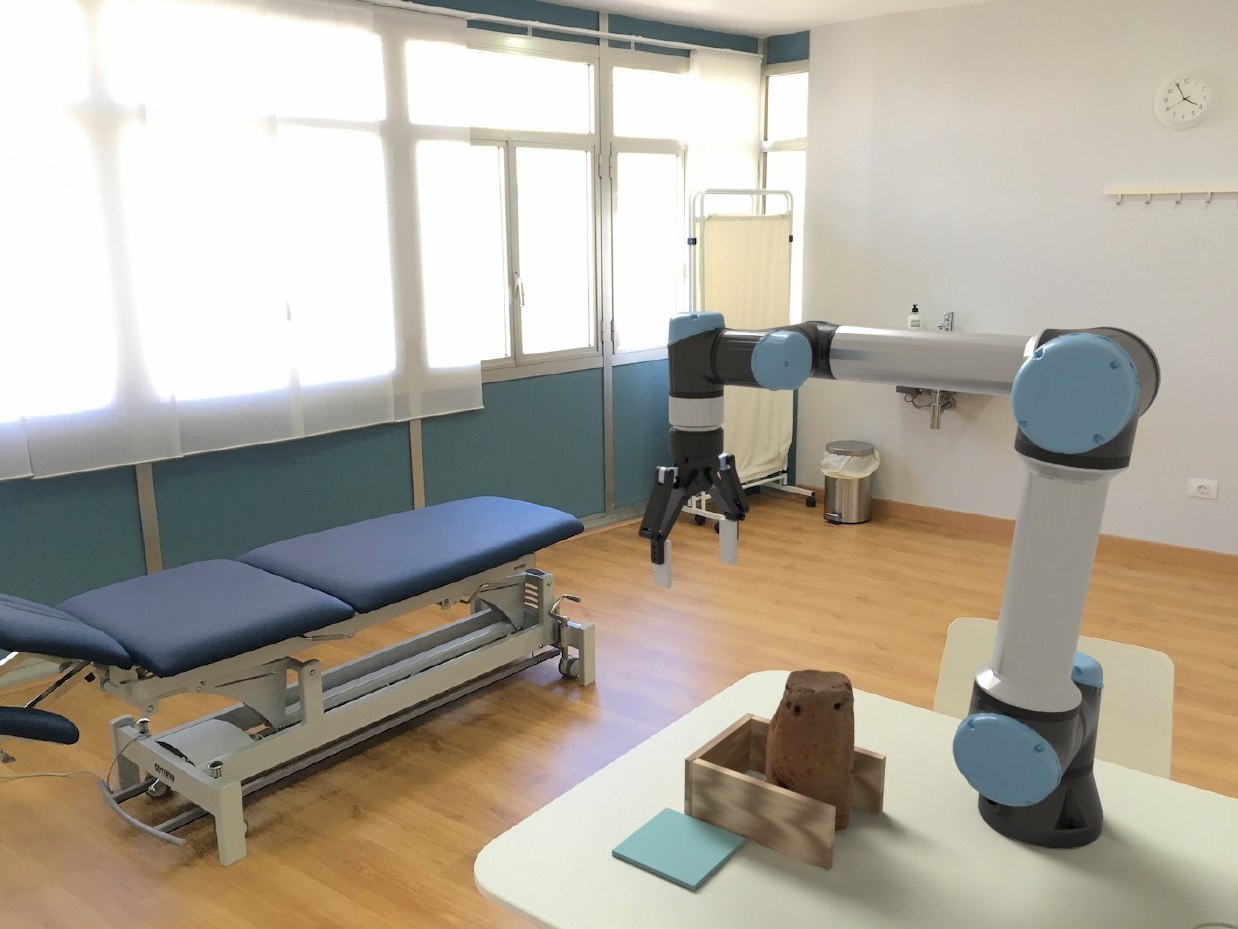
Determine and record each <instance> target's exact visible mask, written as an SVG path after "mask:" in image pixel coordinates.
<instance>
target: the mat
mask: <svg viewBox="0 0 1238 929" xmlns="http://www.w3.org/2000/svg"><path fill="white" fill-rule="evenodd" d="M745 844H746V838H743V837H741V836H738V835H736V834H733V833H731V832H728V831H726V830H723V829H720V828H718V827H715V826H713V825H710V824H708V823H705V822H703V821H700V820H698V819H695V818H692V817H690V816H687V815H685V814H684V813H682V812H680V811H677V810H675V809H671V808H669V807H665V808H664V809H663V810H661V811H660V812H658V813H657V814H656V815H655V816H654V817H652V818H651V819H649V820H648V821H647V822H646V823H645V824H643V825H642V826H641V827H639V828H638V829H637V830H635V831H634V832H633V833H632V834H630V835H629V836H628V837H627V838H625V839H624V840H623V841H622V842H620V843H619V844H617V846H615V847H613V849H612V850H611V855H613V856H615V857H617V858H619V859H621V860H624V861H626V862H628V863H631V864H632V865H635V866H637V867H640V868H642V869H644V870H647V871H649V872H651V873H653V874H655V875H657V876H660V877H662V878H664V879H667V880H669V881H672V882H674V883H676V884H678V885H680V886H683V887H685V888H687V889H689V890H692V891H695V890H696V889H697V888H699V886H700V885H702V884H703V883H704V882H705V881H706V880H707V879H708V878H710V876H712V875H713V873H714V872H716V870H718V869H719V868H720V867H721V866H722V865H723V864H724V863H725V862H726V861H727V860H728V859H730V857H731V856H732V855H734V853H736V852H737V851H738V850H739V849H740V848H742V846H744V845H745Z"/></svg>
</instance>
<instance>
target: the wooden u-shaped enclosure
mask: <svg viewBox="0 0 1238 929" xmlns="http://www.w3.org/2000/svg"><path fill="white" fill-rule="evenodd" d="M770 722H771V719H770V718H765V717H763V716H759V715H756V714H753V713H750V712H747V713H746V714H744V715H743V716H742V717H740V718H739V719H737V720H736V721H734V723H732V724H730V725H729V726H728V727H727V728H725V729H724V730H723V731H721V732H720V733H718V734H717V735H716V736H714V737H713V738H711V739H710V740H709V741H707V742H706V743H705V744H704V745H702V746H700V748H698V749H697V750H695V751H694V752H693V753H692V754H690V755H689V756H687V757H686V758H684V796H683V797H684V798H683V799H684V804H683V805H684V806H683V809H684V810H683V814H685V815H687V816H690V817H692V818H695V819H698V820H700V821H703V822H705V823H708V824H710V825H713V826H715V827H718V828H720V829H723V830H726V831H728V832H731V833H733V834H736V835H738V836H741V837H743V838H745V840H748V841H751V842H754V843H756V844H759V845H761V846H764V847H766V848H769V849H771V850H773V851H776V852H780V853H781V854H784V855H787V856H789V857H791V858H794V859H797V860H798V861H799V860H800V861H803V862H805V863H807V864H810V865H812V866H814V867H817V868H820V869H823V870H824V871H826V872H827V871H828V872H829V871H830V870H831V869H832V868H833V867H834V853H835V852H834V850H835V833H836V832H835V812H836V807H835V806H832V805H829V804H826V803H824V802H821V801H818V800H815V799H812V798H809V797H807V796H804V795H801V794H798V793H795V792H792V791H789V790H787V789H784V788H781V787H778V786H775V785H772V784H770V783H767V782H765V780H761V779H757V778H755V777H752V776H750V775H747V774H746V773H747V772H749V771H753V772H755V773H757V774H761V775H764V776H765V769H766V748H767V735H768V728H769V724H770ZM886 762H887V755H886V754H882V753H878V752H876V751H872V750H870V749H866V748H863V747H859V746H857V745H854V784H853V803H852V807H856V808H859V809H862V810H865V811H867V812H870V813H873V814H877V815H881V813H882V812H883V811H884V793H885V781H886V780H885V779H886Z"/></svg>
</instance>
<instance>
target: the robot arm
mask: <svg viewBox="0 0 1238 929" xmlns="http://www.w3.org/2000/svg"><path fill="white" fill-rule="evenodd" d="M666 348H667V360H668V422H669V423H670V424H671V425H672V426H671V427H670V428H668V452H669V454H670V455H671V456H672V459H673V461H672V465H671V467H665V466H656V467H655V470H654V484H653V486H652V489H651V493H650V496H649V498H648V501H647V504H646V507H645V511H644V514H643V517H642V520H641V523H640V528H639V530H638V537H640V538H642V539H646V540H649V541H650V561H651V564H653V567H652V568H653V569H652V570H653V571H652V572H653V585H655V586H660V587H662V588H665V589H671V588H672V582H673V581H672V578H673V576H672V540H668V537H669V535H670V534H671V531H672V530H673V527H674V526H675V524H676V522H677V520H678V518H679V516H680V514H681V513H682V510H683V508H684V506H685V504H686V503H687V502H688V501H689V500H691V498H692V496H694V495H698V494H700V493H701V492H703V493H707V494H708V495H709V496H710V498H711V499H712V501H713V502H714V503H715V505H716V507H717V508H718V509H719V511H720V512H721V514H722V516H724V517H721V518H719V521H718V522H719V523H718V524H719V532H718V533H719V534H718V535H719V538H718V542H719V547H718V548H719V550H718V551H719V553H718V555H719V556H718V557H719V559H718V560H719V561H718V562H719V563H722V564H726V565H730V566H733V567H734V566H737V565H738V541H739V530H740V527H739V526H740V523H739V522H743V521H745V519H746V517H747V516H746V514H748V513H749V511H750V510H751V509H750V505H749V502H748V499H747V497H746V493H745V491H744V487H743V484H742V482H741V480H740V477H739V473H738V470H737V468H736V467H737V466H736V464H737V463H736V456H735V454H732V453H728V452H727V453H726V452H724V448H725V446H724V443H725V442H724V440H725V439H724V438H725V435H724V434H725V430H724V428H723V427H722V426H721V425H723V424H724V423H725V393H724V392H725V390H724V389H725V386H732V387H733V386H734V387H743V388H744V387H745V388H752V389H753V388H755V389H762V390H763V389H765V390H769V391H773V392H776V391H781V390H782V391H794V390H798V389H800V388H801V387H802V386H803V385H804V383H805V382H806V381H807V380H808V379H820V380H832V381H833V380H835V381H836V380H837V381H849V382H858V383H868V384H877V385H879V384H880V385H888V386H898V387H908V388H917V389H926V390H927V389H928V390H937V391H947V392H948V391H949V392H959V393H966V394H969V393H970V394H978V395H988V396H996V397H998V396H999V397H1007V398H1010V401H1011V403H1010V404H1011V410H1012V414H1013V417H1014V421H1015V422H1016V423H1017V426H1016V433H1015V439H1014V443H1013V444H1014V445H1013V446H1014V447H1013V452H1014V453H1015V455H1016V456H1017V457H1018V458H1019V460H1020V462H1022V464H1023V465H1024V474H1023V480H1022V485H1021V491H1020V496H1019V504H1018V508H1017V513H1016V520H1015V526H1014V530H1013V536H1012V541H1011V548H1010V553H1009V559H1008V565H1007V570H1006V576H1005V582H1004V587H1003V594H1002V600H1001V605H1000V609H999V610H1000V612H999V616H998V617H999V618H998V623H997V628H996V632H995V634H996V635H995V640H994V646H993V651H992V657H991V660H989V661H988V662H986V663H984V664H982V665H980V666H979V667H978V668H977V669H976V672H975V675H974V681H973V686H972V691H971V697H970V701H969V710H968V713H967V716H966V717H965V718H964V719H963V720H962V721H961V722H960V723H959V724H958V725H957V729H956V731H955V734H954V736H953V740H952V755H953V758H954V762H955V765H956V767H957V770H958V771H959V773H960V774H961V775H962V776H963V777H964V779H966V780H967V781H966V782H967V783H968V785H969V786H970V787H972V789H974V791H976V792H977V793H978V797H977V798H978V799H977V800H978V801H977V808H978V809H977V810H978V812H979V814H980V815H981V818H982V819H983V820H984V821H985V822H986V824H988V825H989V826H990V827H992V828H993V829H994V830H996V831H997V832H1000V833H1001V834H1003V835H1004V836H1006V837H1008V838H1010V839H1013V840H1015V841H1017V842H1021V843H1023V844H1026V845H1029V846H1030V845H1031V846H1036V847H1041V848H1046V849H1056V850H1068V849H1069V850H1070V849H1076V848H1077V849H1078V848H1082V847H1086V846H1088V845H1091V844H1093V843H1094V842H1095V841H1097V840H1098V838H1100V836H1101V834H1102V830H1103V821H1104V810H1103V805H1102V802H1101V799H1100V798H1101V797H1100V794H1099V790H1098V787H1097V781H1096V779H1095V774H1094V762H1095V755H1096V747H1097V746H1096V745H1097V737H1098V729H1099V728H1098V727H1099V719H1100V709H1101V702H1102V693H1103V690H1104V688H1105V684H1104V669H1103V667H1102V664H1101V663H1100V662H1099V661H1098V660H1097V659H1095V658H1094V657H1092V656H1090V655H1088V654H1087V653H1084V652H1081V651H1078V650H1077V648H1078V645H1079V644H1078V643H1079V639H1080V638H1079V637H1080V633H1081V628H1082V623H1083V619H1084V613H1085V609H1086V608H1085V607H1086V604H1087V598H1088V597H1087V596H1088V593H1089V588H1090V583H1091V579H1092V572H1093V568H1094V562H1095V558H1096V553H1097V548H1098V542H1099V537H1100V532H1101V527H1102V524H1103V517H1104V512H1105V508H1106V503H1107V502H1106V501H1107V497H1108V492H1109V487H1110V482H1111V480H1112V479H1113V478H1114V477H1115V478H1116V476H1118V475H1120V474H1122V473H1123V472H1125V471H1126V470H1128V469H1129V466H1130V462H1131V458H1132V452H1133V448H1134V443H1135V437H1136V433H1137V430H1138V429H1137V428H1138V425H1139V424H1138V423H1139V419H1140V418H1141V417H1142V416H1143V415H1145V413H1146V412H1147V411H1148V410H1149V409H1150V408H1151V406H1152V405H1153V404H1154V402H1155V400H1156V398H1157V396H1158V394H1159V391H1160V388H1161V381H1162V379H1161V378H1162V377H1161V367H1160V363H1159V359H1158V358H1157V355H1156V353H1155V352H1154V350H1153V348H1152V347H1151V346H1150V345H1149V344H1148V343H1147V342H1146V341H1145V340H1144V339H1143V338H1141V337H1140V336H1139V335H1137V334H1135V333H1134V332H1131V331H1129V330H1126V329H1124V328H1122V327H1121V328H1119V327H1116V326H1115V327H1113V326H1098V327H1090V328H1075V329H1074V328H1073V329H1072V328H1071V329H1069V328H1066V329H1065V328H1061V329H1060V328H1043V329H1042V330H1040V331H1039V332H1038V333H1037V334H1036V335H1033V336H1031V335H1020V334H1019V335H1018V334H1017V335H1016V334H1002V333H997V334H996V333H985V332H983V333H982V332H971V331H955V330H954V331H951V330H935V329H934V330H933V329H918V328H907V327H906V328H902V327H887V326H886V327H885V326H870V325H857V324H855V325H853V324H852V325H851V324H836V323H832V322H831V321H827V320H807V321H805V322H802V323H801V322H800V323H796V324H790V325H783V326H777V327H776V326H775V327H769V328H763V329H759V328H758V329H752V328H750V329H746V328H745V329H744V328H743V329H742V328H741V329H740V328H739V329H738V328H729V327H726V323H725V316H724V315H723V313H721V312H719V311H708V310H707V311H703V310H700V311H699V310H697V311H696V310H695V311H680V312H676V313H674V314H673V315H671V317H670V318H669V321H668V340H667V344H666Z"/></svg>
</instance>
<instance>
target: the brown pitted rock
mask: <svg viewBox="0 0 1238 929" xmlns="http://www.w3.org/2000/svg"><path fill="white" fill-rule="evenodd" d="M854 703H855V696H854V691H853V686H852V683H851V679H850V678H849V677H848V676H847V675H846V674H845V673H842V672H838V671H835V670H834V671H831V670H830V671H829V670H828V671H824V670H818V669H802V670H801V669H800V670H794V671H790V673H789V674H788V676H787V679H786V682H785V686H784V690H783V694H782V698H781V699H780V702H779V705H778V706H777V708H776V711H775V713H774V714H773V716H772V717H771V719H770V720H771V722H770V724H769V728H768V735H767V748H766V769H765V775H764V776H765V780H764V782H767V783H770V784H772V785H775V786H778V787H781V788H784V789H787V790H789V791H792V792H795V793H798V794H801V795H804V796H807V797H809V798H812V799H815V800H818V801H821V802H824V803H826V804H829V805H832V806H835V807H836V812H835V832H834V833H836V832H842V831H843V830H846V829H847V827H848V826H849V823H850V819H851V814H852V809H853V808H852V807H853V805H852V803H853V784H854V746H855V710H854Z"/></svg>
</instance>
